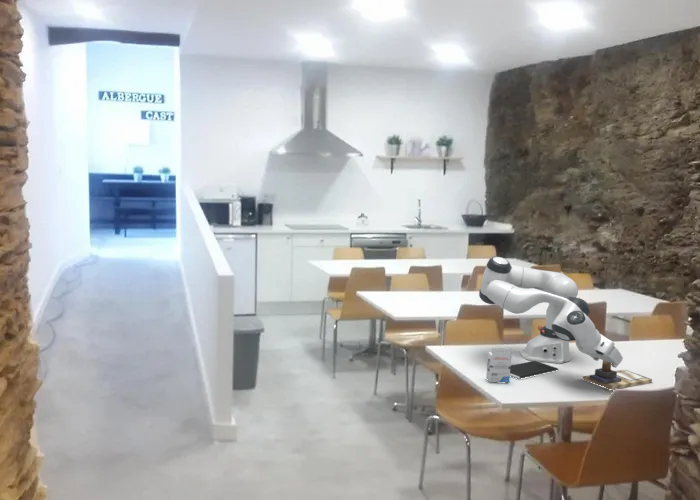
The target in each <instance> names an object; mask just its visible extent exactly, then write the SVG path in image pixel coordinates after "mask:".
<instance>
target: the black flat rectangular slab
mask: <svg viewBox="0 0 700 500" xmlns="http://www.w3.org/2000/svg"><path fill="white" fill-rule="evenodd" d="M556 370H558V371H559V368H558V367H556V366H552V365H550V364H546V363H545V362H541V361H532V360H530V361H527V362H521V363H517V364H512V365H511V367H510V376H511V377H514V378H517V379H521V378H525V377H530V376H534V375H539V374H543V373H547V372H551V373H553V372H552V371H555V372H557V371H556ZM547 374H548V373H547ZM543 375H544V374H543ZM539 376H540V375H539ZM511 377H510V378H511ZM534 377H535V376H534ZM514 378H513V379H514ZM530 378H531V377H530ZM517 379H516V380H517Z"/></svg>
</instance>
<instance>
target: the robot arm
mask: <svg viewBox="0 0 700 500" xmlns="http://www.w3.org/2000/svg"><path fill="white" fill-rule="evenodd" d="M478 292H479V293H478V295H479V298H480V301H482V302H484V303H485V304H488V305H496V306H498V307H500V308H501V309H504V310H506V311H508V312H509V313H512V314H517V315H519V314H523V313H526V312H527V311H530V310H531V309H532V308H533V307H535V306H537V305H540V304H542V303H547V304H548V307H547V309H546V312H545V313H546V314H545V323H544V324H545V325H544V326H541V325H538V326H537V330H538V331H539V334H538V335H536V336H534V337H533V338H531V339H529V340H528V341H527V342H526V346H525V349H522V350H520V354H519V355H520V356H521V357H522V358H524V359H525V360H528V361H538V362H541V363H551V364H552V363H553V364H563V363H565V362H570V361H571V360H572V358H571V354H570V342H574V341H575V345H576V348H577V349H578V351H579V352H581V353H583V354H585V355H588V356H589V357H590V358H592V359H593V361H596V362H598V361H599V360H602V361H603V360H604V361H607V362H609V363H611V368H612V367H613V368H615V369H617V368H618V366H619V365H620V364H621V363H622V361H623V359H624V357H623V356H622V354H621V352H620V351H619V349H618V348H617V347H616V346H615V342H614V341H613V340H611V339H609V338H607V337H606V336H604V335H603V334H602V333H600V331H599V330H598V329H597V328H596V325H595V323H594V322H593V321H592V320H591V319H590V317H589V316H590V314H591V311H590V309H591V308H590V306H589V303H588V302H587V301H586V300H584V299H582V298H580V297H578V294H579V289H578V285H577V283H576V281H574V280H573V279H572V278H570V277H569V276H568V275H566V274H565V273H562V272H558V271H553V270H552V271H550V270H542V269H537V268H533V267H532V268H531V267H526V266H522V265H516V264H511V263H510V261H509V260H508V259H506V258H504V257H501V256H493V257H490V258H489V259H488V261H487V262H486V267H485V269H484V271H483V274H482V279H481V283H480V289H479V291H478Z"/></svg>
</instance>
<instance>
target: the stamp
mask: <svg viewBox="0 0 700 500" xmlns="http://www.w3.org/2000/svg"><path fill="white" fill-rule="evenodd" d="M601 364H602V366H601V367H600V368H595V370H594V374H595V375H596V376H599V377H601V378H604V379H606V380H607V379H612V378H616V376H617V372H616V371H617V370H613V369H612V365H611V364H612V363H609V362H607V361H604V360H602V363H601Z"/></svg>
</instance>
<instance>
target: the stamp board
mask: <svg viewBox="0 0 700 500" xmlns="http://www.w3.org/2000/svg"><path fill="white" fill-rule="evenodd" d="M615 371H616V372H617V376H616V378H612V379H607V380H606V379H604V378H601V377H599V376H596V375H595V373H594V374H588V375H582V379H584V380H586V381H585V382H587V381H589V382H592V383H595V384H598V385H601V386H604V387H606V388H608V389H615V390H617V389H616V388H620V389H625V388H626V389H627V388H629V387H630V388H631V387H635V386H641V385H646V384H652V383H653V379H652V378H651V377H647V376H644V375H641V374H639V373H636V372H633V371H630V370H629V369H617V370H615ZM582 379H581V380H582ZM584 380H583V381H584ZM589 382H588V383H589ZM592 383H591V384H592Z"/></svg>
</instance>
